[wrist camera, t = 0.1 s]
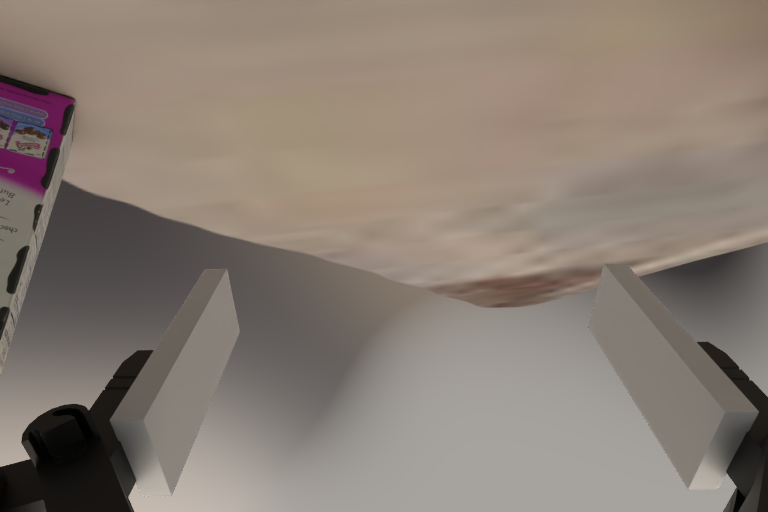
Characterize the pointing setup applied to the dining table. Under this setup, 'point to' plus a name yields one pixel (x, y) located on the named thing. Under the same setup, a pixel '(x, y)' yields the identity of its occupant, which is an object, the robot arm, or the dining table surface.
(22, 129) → the candy bar box
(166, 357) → the robot arm
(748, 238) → the dining table surface
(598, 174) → the dining table surface
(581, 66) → the dining table surface
